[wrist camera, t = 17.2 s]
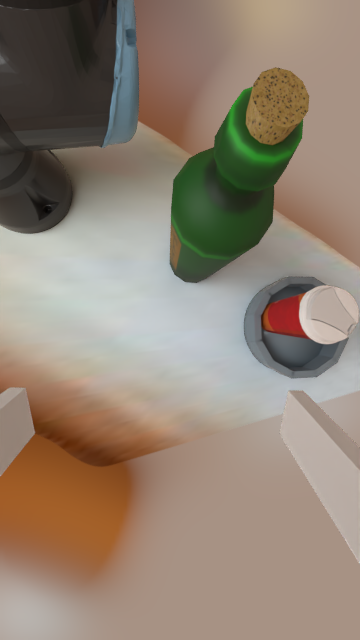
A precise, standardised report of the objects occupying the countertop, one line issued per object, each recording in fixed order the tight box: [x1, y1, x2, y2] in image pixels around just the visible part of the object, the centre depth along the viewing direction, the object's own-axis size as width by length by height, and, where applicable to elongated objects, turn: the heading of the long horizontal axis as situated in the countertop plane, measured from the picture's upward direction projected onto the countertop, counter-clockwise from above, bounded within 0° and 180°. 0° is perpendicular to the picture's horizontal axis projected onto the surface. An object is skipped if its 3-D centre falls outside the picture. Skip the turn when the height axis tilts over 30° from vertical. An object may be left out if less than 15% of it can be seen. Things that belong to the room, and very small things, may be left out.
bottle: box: [170, 68, 309, 283], centre depth 25 cm, size 11×11×28 cm
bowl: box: [244, 277, 348, 378], centre depth 38 cm, size 18×18×4 cm
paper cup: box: [261, 285, 359, 344], centre depth 32 cm, size 8×8×14 cm
